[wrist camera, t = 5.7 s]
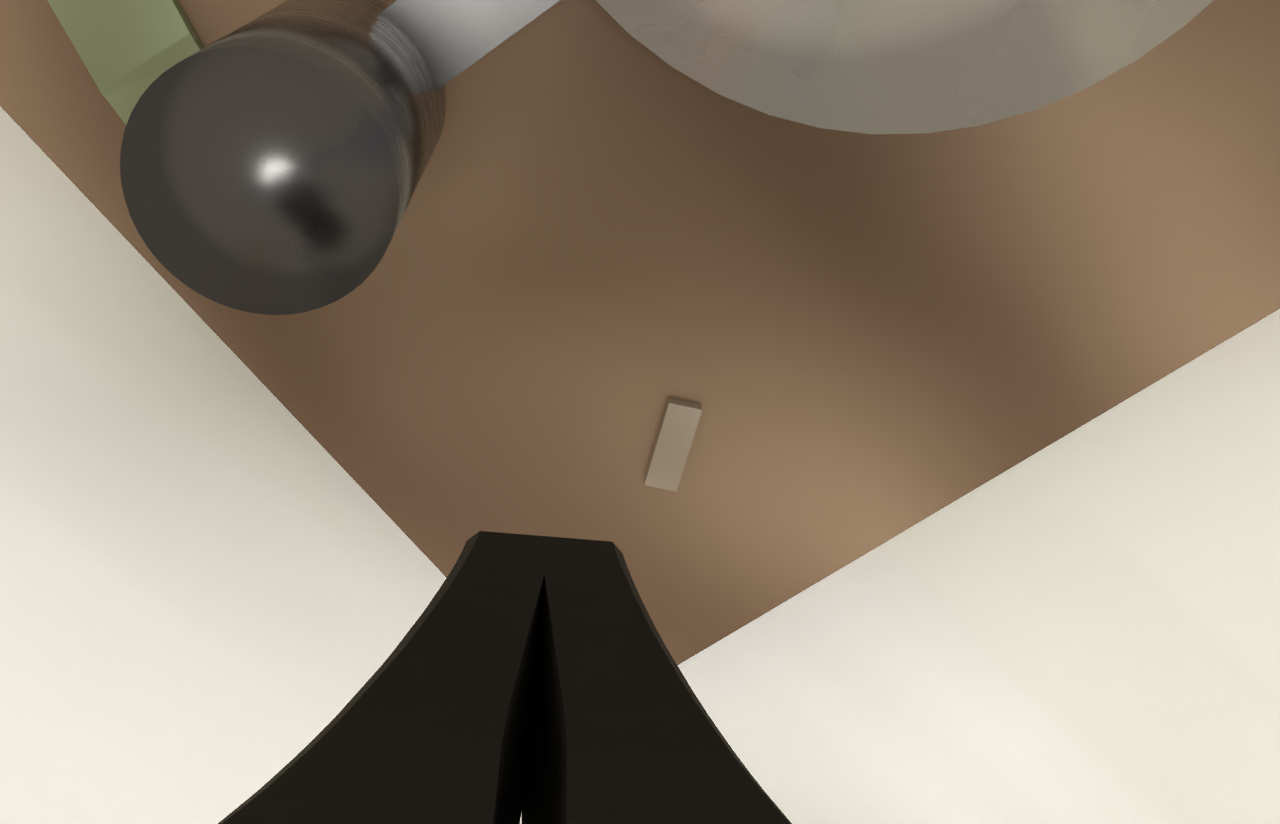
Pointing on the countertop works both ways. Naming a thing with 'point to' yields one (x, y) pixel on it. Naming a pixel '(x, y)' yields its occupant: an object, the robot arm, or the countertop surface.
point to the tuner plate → (725, 289)
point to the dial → (477, 23)
